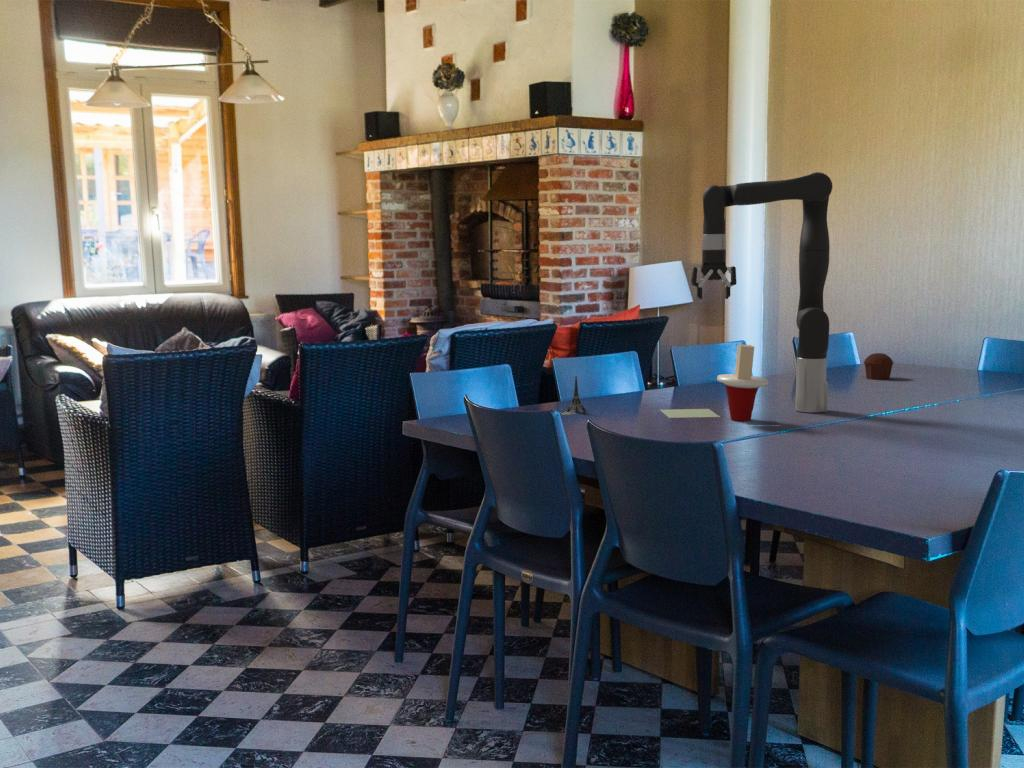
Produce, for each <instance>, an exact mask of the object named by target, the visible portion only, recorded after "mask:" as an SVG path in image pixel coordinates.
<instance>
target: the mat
mask: <svg viewBox="0 0 1024 768" xmlns="http://www.w3.org/2000/svg"><path fill="white" fill-rule="evenodd" d="M659 411H660V412H662V413H663V414H664V415H665V416H666V417H667V418H669V419H673V418H674V419H679V418H680V419H682V418H685V419H686V418H721V416H720V415H719V414H717V413H715V412H714V411H712V410H711V409H709V408H689V409H688V408H687V409H686V408H685V409H684V408H683V409H682V408H681V409H679V408H678V409H659Z"/></svg>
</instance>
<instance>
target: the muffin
mask: <svg viewBox="0 0 1024 768" xmlns="http://www.w3.org/2000/svg"><path fill="white" fill-rule="evenodd" d="M863 364H864V370H865V378H866V379H867V380H872V381H873V380H874V381H875V380H877V381H885V380H886V381H887V380H890V379H891V374H892V373H891V372H892V369H893V365H894V361H893V359H892V358H891V357H890V356H889V355H887V354H886V353H882V352H875V353H871V354H870V355H868V356H867V357H866V358H865V359H864V360H863Z"/></svg>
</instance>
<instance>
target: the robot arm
mask: <svg viewBox="0 0 1024 768" xmlns="http://www.w3.org/2000/svg"><path fill="white" fill-rule="evenodd" d="M832 191H833V181H832V178H830V177H829V176H828V174H826V173H824V172H820V171H819V172H818V171H817V172H812V173H810V174H805V175H803V176H799V177H795V178H790V179H782V180H780V179H779V180H767V181H766V180H765V181H764V180H763V181H762V180H761V181H751V182H741V183H740V182H739V183H736V184H732V185H731V184H730V185H729V184H728V185H716V184H714V185H713V184H712V185H709V186H708V187H707V188H706V189H705V190H704V191H703V194H702V206H703V208H702V209H703V223H702V241H701V242H702V244H701V249H702V250H701V266H700V267H697V266H693V267H692V269H691V283H690V284H691V286H693V287H696V297H697V298H698V299H699V300H703V285H704V284H705V283H706V282H708V281H721V282H722V283H723V284H724V285H725V287H724V299H725V300H729V298H730V297H731V288H732V287H733V286H736V285H737V268H736V266H734V265H732V266H727V259H726V258H727V237H726V219H725V213H726V212H725V211H726V210H725V208H727V207H733V206H751V205H760V204H767V203H773V202H779V201H780V202H781V201H788V200H790V201H791V200H793V201H794V200H800V201H801V203H802V224H801V231H800V237H799V248H798V253H799V254H798V268H799V269H798V275H799V276H798V278H799V280H798V281H799V298H798V305H797V306H798V307H797V315H796V319H795V320H796V327H797V329H798V344H797V345H798V346H797V348H796V370H795V371H796V372H795V373H796V374H795V375H796V376H795V404H794V405H795V407H794V408H795V409H794V410H795V411H796V412H799V413H800V412H801V413H823V412H825V413H827V412H828V404H829V403H828V399H829V392H828V391H829V382H828V381H827V355H828V351H829V342H830V341H829V340H830V318H829V316H828V314H827V313H826V312H825V309H824V289H825V286H826V280H827V277H828V273H829V272H828V271H829V267H830V266H829V265H830V247H831V246H830V235H829V234H830V233H829V228H828V227H829V226H828V225H829V224H828V208H829V202H830V195H831V193H832ZM727 271H728V273H729V274H730V281H729V279H728V278H727V276H725V274H726V273H727ZM700 272H701V273H702V277H701V278H700V279H699V281H698V282H697V278H698V277H697V276H698V275H699V274H700Z"/></svg>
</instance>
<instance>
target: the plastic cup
mask: <svg viewBox="0 0 1024 768" xmlns="http://www.w3.org/2000/svg"><path fill="white" fill-rule="evenodd" d="M723 384H724V386H725V390H726V396H727V403H728V410H729V417H730V420H731V421H733V422H741V423H742V422H750V421H751V420H752V415H753V411H754V406H755V401H756V396H757V393H758V390H759V389H760V387H747V386H737V385H730V384H725V383H723Z"/></svg>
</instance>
